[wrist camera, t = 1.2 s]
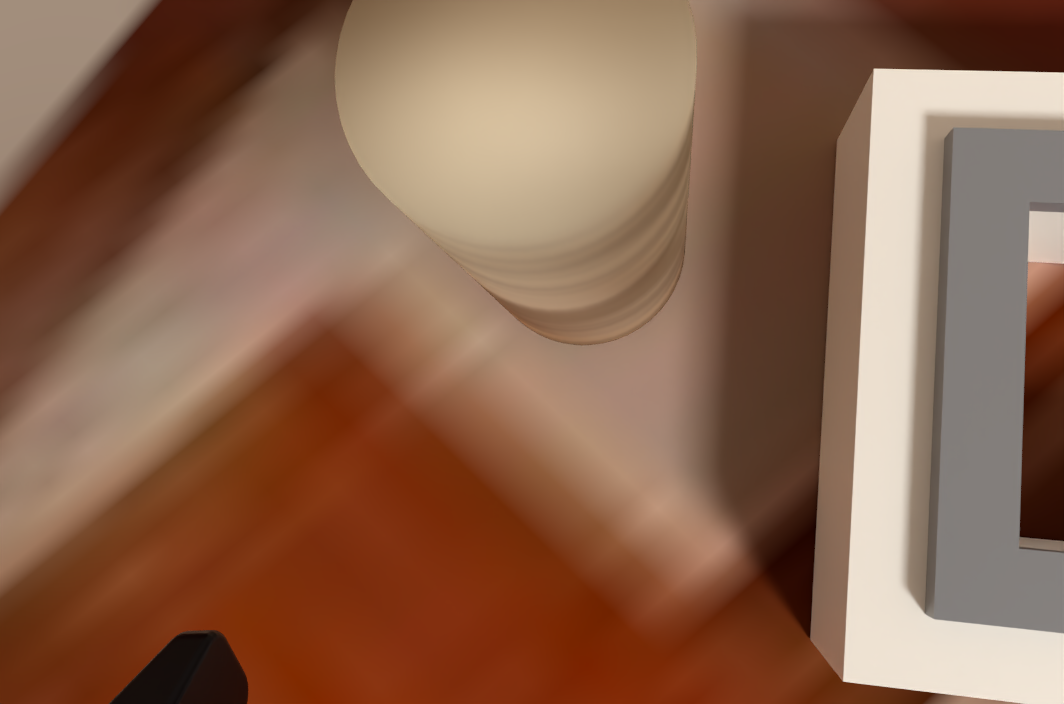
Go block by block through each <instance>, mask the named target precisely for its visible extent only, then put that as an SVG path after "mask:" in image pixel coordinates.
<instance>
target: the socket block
mask: <svg viewBox="0 0 1064 704" xmlns="http://www.w3.org/2000/svg"><path fill="white" fill-rule="evenodd" d="M1028 262H1043V263H1063V264H1064V73H1058V72H1010V71H962V70H913V69H873V71H872V73H871V75H870V77H869V79H868V81H867V83H866V85H865V87H864V89H863V91H862V93H861V95H860V97H859V98H858V100H857V102H856V104H855V106H854V108H853V110H852V112H851V114H850V116H849V118H848V120H847V122H846V124H845V126H844V128H843V130H842V132H841V134H840V135H839V137H838V139H837V151H836V169H835V188H834V206H833V225H832V243H831V262H830V280H829V299H828V317H827V336H826V354H825V373H824V391H823V410H822V429H821V447H820V466H819V484H818V503H817V521H816V540H815V558H814V577H813V595H812V614H811V632H810V640H811V641H812V643H813V644H814V645H815V646H816V648H817V649H818V650H819V651H820V653H821V654H822V655H823V657H824V658H825V659H826V660H827V662H828V663H829V664H830V665H831V667H832V668H833V669H834V671H835V672H836V673H837V674H838V676H839V677H840V678H841V679H842V681H843V682H851V683H859V684H868V685H876V686H884V687H892V688H901V689H909V690H917V691H925V692H934V693H942V694H950V695H958V696H967V697H975V698H983V699H991V700H1000V701H1008V702H1016V703H1024V704H1064V541H1056V540H1045V539H1035V538H1024V537H1019V534H1020V502H1021V469H1022V437H1023V404H1024V372H1025V340H1026V307H1027V275H1028Z"/></svg>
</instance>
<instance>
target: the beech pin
mask: <svg viewBox="0 0 1064 704" xmlns="http://www.w3.org/2000/svg"><path fill="white" fill-rule="evenodd" d="M696 70H697V40H696V33H695V25H694V19H693V15H692V12H691V8H690V5H689V1H688V0H353V1H352V3H351V6H350V8H349V10H348V12H347V14H346V18H345V21H344V24H343V27H342V30H341V34H340V37H339V43H338V49H337V54H336V64H335V91H336V103H337V107H338V112H339V116H340V121H341V125H342V128H343V130H344V133H345V136H346V139H347V141H348V144H349V146H350V148H351V150H352V152H353V154H354V156H355V157H356V159H357V161H358V163H359V165H360V166H361V168H362V169H363V170H364V172H365V173H366V174H367V176H368V177H369V179H370V180H371V181H372V183H373V184H374V185H375V186H376V187H377V188H378V189H379V190H380V191H381V192H382V193H383V194H384V195H385V196H386V197H387V198H388V199H389V200H390V201H391V202H392V203H393V204H394V205H395V206H396V207H397V208H399V209H400V210H401V211H402V212H403V213H404V214H405V215H406V216H407V217H408V218H409V219H410V220H411V221H412V222H414V223H415V224H416V225H417V226H418V227H419V228H420V229H421V230H422V231H423V232H424V233H425V234H426V235H427V236H429V237H430V238H431V239H432V240H433V241H434V242H435V243H436V244H437V245H438V246H439V247H440V248H441V249H443V250H444V251H445V252H446V253H447V254H448V255H449V256H450V257H451V258H452V259H453V260H454V261H455V262H456V263H458V264H459V265H460V266H461V267H462V268H463V269H464V270H465V271H466V272H467V273H468V274H469V275H470V276H471V277H473V278H474V279H475V280H476V281H477V282H478V283H479V284H480V285H481V286H482V287H483V288H484V289H485V290H486V291H488V292H489V293H490V294H491V295H492V296H493V297H494V298H495V299H496V300H497V301H498V302H499V303H500V304H501V305H503V306H504V307H505V308H506V309H507V310H508V311H509V312H510V313H511V314H512V315H513V316H514V317H515V318H516V319H518V320H519V321H520V322H521V323H522V324H524V325H525V326H526V327H528V328H529V329H531V330H532V331H534V332H536V333H537V334H539V335H541V336H544V337H546V338H548V339H551V340H554V341H558V342H561V343H566V344H574V345H593V344H601V343H606V342H610V341H614V340H617V339H619V338H622V337H624V336H627V335H629V334H630V333H632V332H634V331H636V330H638V329H639V328H641V327H642V326H643V325H645V324H646V323H647V322H649V321H650V320H651V319H652V318H653V317H654V316H655V315H656V314H657V313H658V312H659V311H660V310H661V309H662V307H663V306H664V305H665V304H666V302H667V301H668V299H669V298H670V296H671V294H672V293H673V291H674V289H675V287H676V285H677V282H678V280H679V277H680V274H681V270H682V267H683V261H684V254H685V240H686V225H687V209H688V194H689V178H690V163H691V147H692V132H693V116H694V101H695V86H696Z"/></svg>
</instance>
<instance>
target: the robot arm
mask: <svg viewBox="0 0 1064 704" xmlns="http://www.w3.org/2000/svg"><path fill="white" fill-rule="evenodd" d="M247 700H248V682H247V678H246V675H245V673H244V671H243V669H242V667H241V665H240V663H239V662H238V660H237V658H236V656H235V654H234V652H233V651H232V649H231V647H230V645H229V643H228V641H227V640H226V638H225V636H224V635H223V634H222V633H220V632H219V631H216V630H203V631H186V632H182V633H180V634H179V635H177V636H176V637H174V638H173V639H172V640H171V641H170V642H169V643H168V644H167V645H166V646H165V647H164V648H163V649H162V650H161V651H160V652H159V653H158V654H157V655H156V656H155V657H154V658H153V659H152V660H151V661H150V662H149V663H148V664H147V665H146V666H145V667H144V668H143V669H142V671H141V672H140V673H139V674H138V675H137V676H136V677H135V678H134V679H133V680H132V681H131V682H130V683H129V684H128V685H127V686H126V687H125V688H124V689H123V690H122V691H121V692H120V693H119V694H118V695H117V696H116V697H115V698H114V699H113V700H112V701H111V702H110V703H109V704H247Z"/></svg>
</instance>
